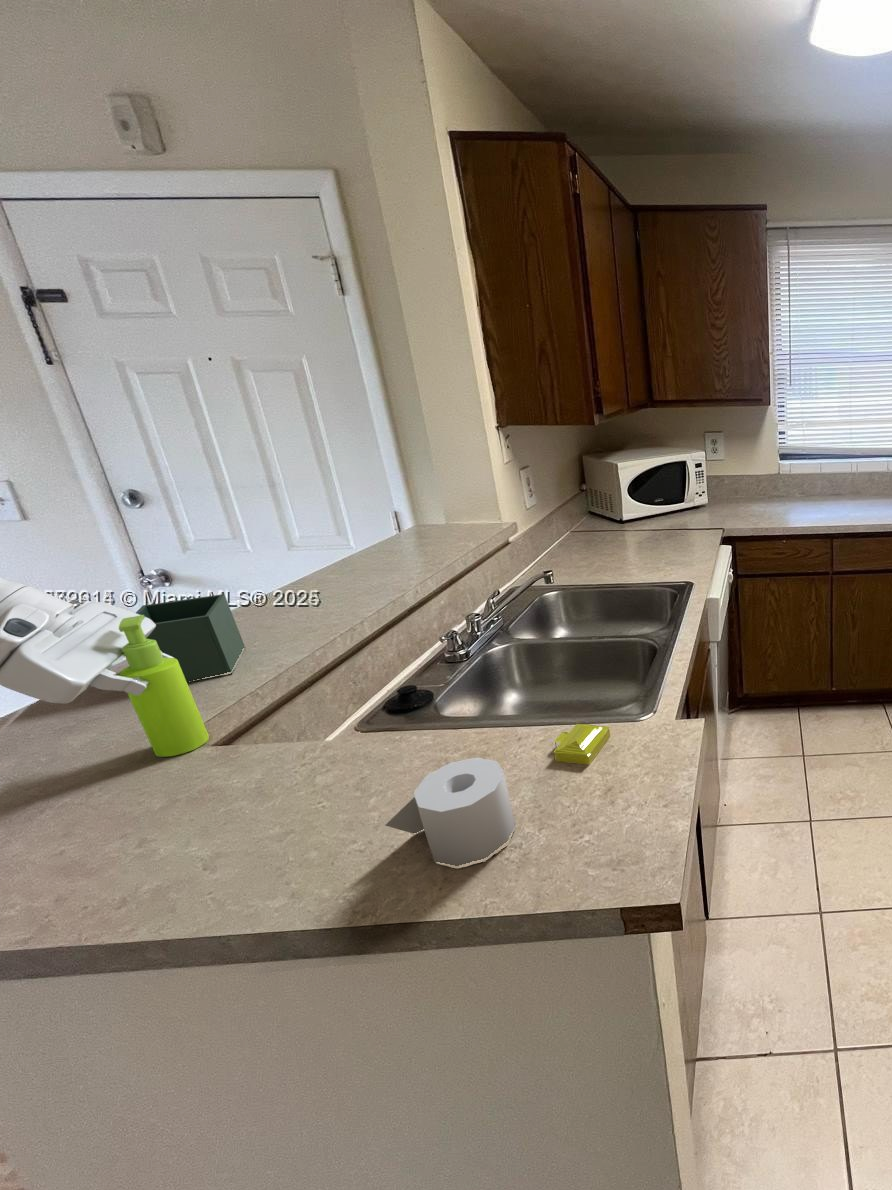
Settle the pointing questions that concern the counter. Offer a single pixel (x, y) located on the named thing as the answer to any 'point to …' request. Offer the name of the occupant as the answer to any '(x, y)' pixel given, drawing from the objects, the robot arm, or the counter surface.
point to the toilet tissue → (460, 811)
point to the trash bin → (196, 634)
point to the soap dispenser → (161, 695)
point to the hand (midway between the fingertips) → (158, 676)
